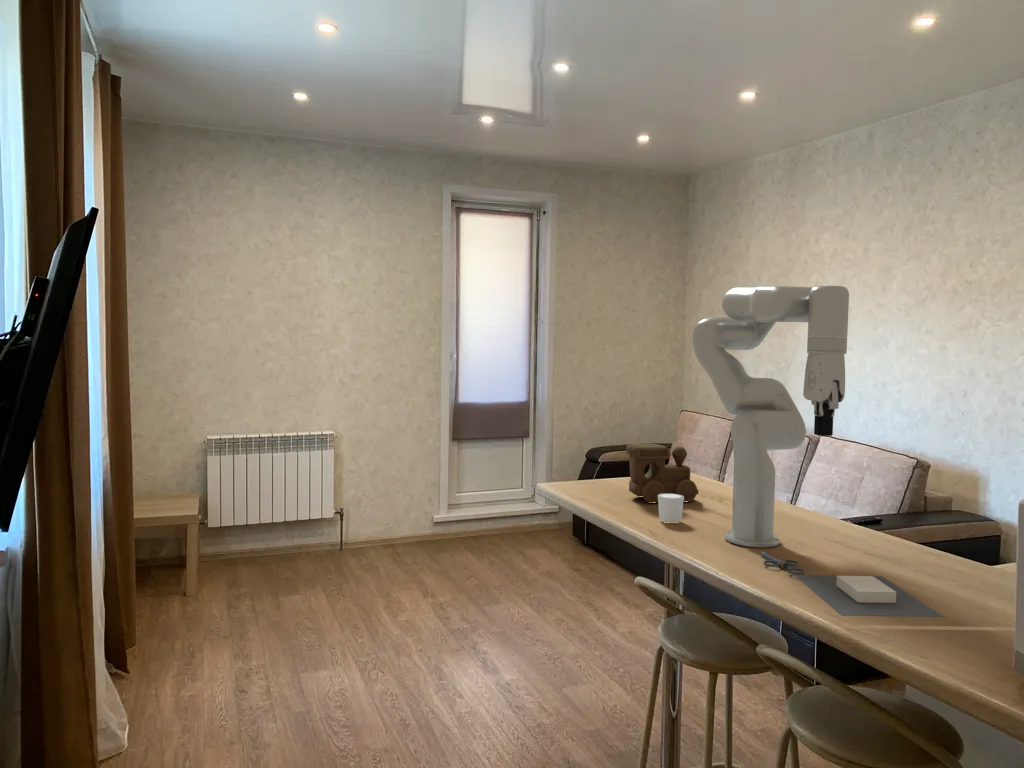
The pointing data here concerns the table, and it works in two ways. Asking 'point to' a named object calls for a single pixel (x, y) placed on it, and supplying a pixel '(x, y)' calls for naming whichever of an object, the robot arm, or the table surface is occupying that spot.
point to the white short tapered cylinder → (670, 507)
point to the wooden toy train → (659, 472)
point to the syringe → (781, 563)
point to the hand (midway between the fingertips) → (823, 435)
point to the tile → (866, 589)
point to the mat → (849, 607)
